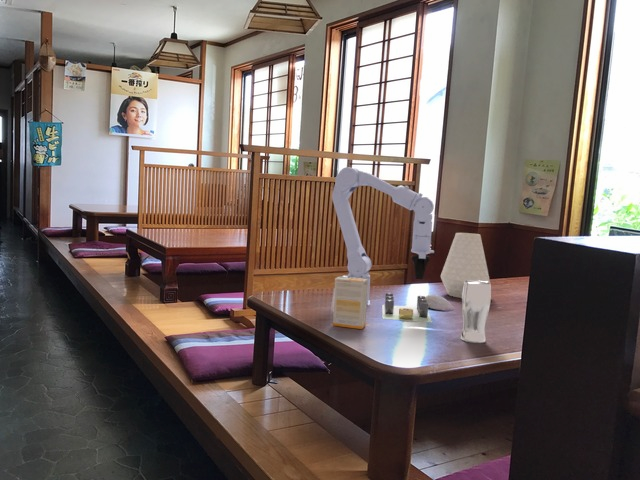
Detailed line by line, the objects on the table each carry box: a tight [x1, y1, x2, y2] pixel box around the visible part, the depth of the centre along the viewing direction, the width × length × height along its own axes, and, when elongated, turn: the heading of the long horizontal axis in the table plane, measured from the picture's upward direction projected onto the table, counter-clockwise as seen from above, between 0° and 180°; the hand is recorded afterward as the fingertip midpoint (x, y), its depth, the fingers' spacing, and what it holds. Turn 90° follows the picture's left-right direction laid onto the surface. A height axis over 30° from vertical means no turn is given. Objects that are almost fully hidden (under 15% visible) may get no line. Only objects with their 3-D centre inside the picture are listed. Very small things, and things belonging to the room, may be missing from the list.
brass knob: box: [399, 308, 413, 321], centre depth 159 cm, size 4×4×3 cm
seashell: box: [425, 294, 455, 312], centre depth 177 cm, size 10×6×10 cm
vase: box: [440, 232, 490, 299], centre depth 203 cm, size 17×17×23 cm
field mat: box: [381, 304, 433, 323], centre depth 166 cm, size 14×20×1 cm
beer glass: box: [460, 280, 492, 344], centre depth 140 cm, size 7×7×15 cm
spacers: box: [384, 292, 429, 318], centre depth 169 cm, size 12×14×4 cm
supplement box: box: [332, 275, 368, 330], centre depth 148 cm, size 8×5×13 cm, turn 71°
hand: (419, 278), depth 174 cm, fingers closed
